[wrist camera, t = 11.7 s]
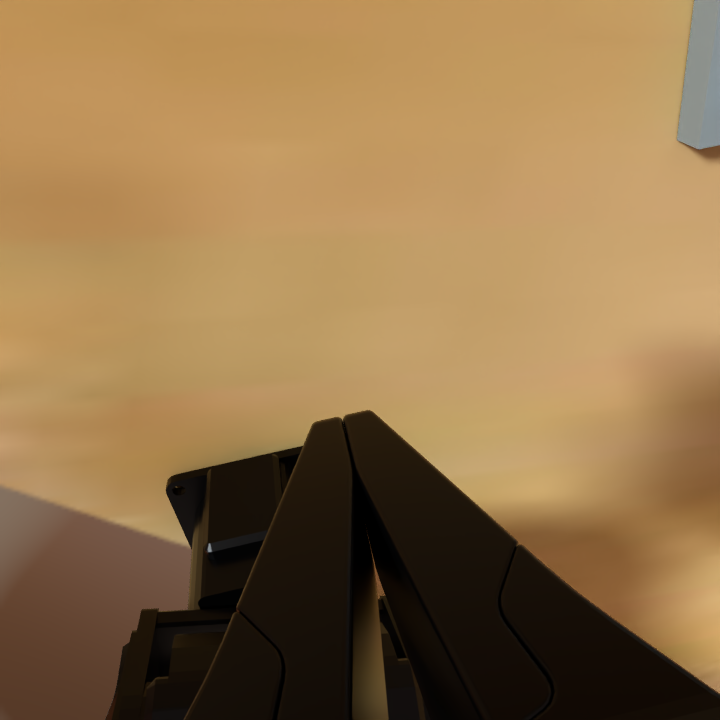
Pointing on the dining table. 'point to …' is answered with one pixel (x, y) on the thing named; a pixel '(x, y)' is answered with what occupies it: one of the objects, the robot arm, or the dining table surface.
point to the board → (702, 79)
